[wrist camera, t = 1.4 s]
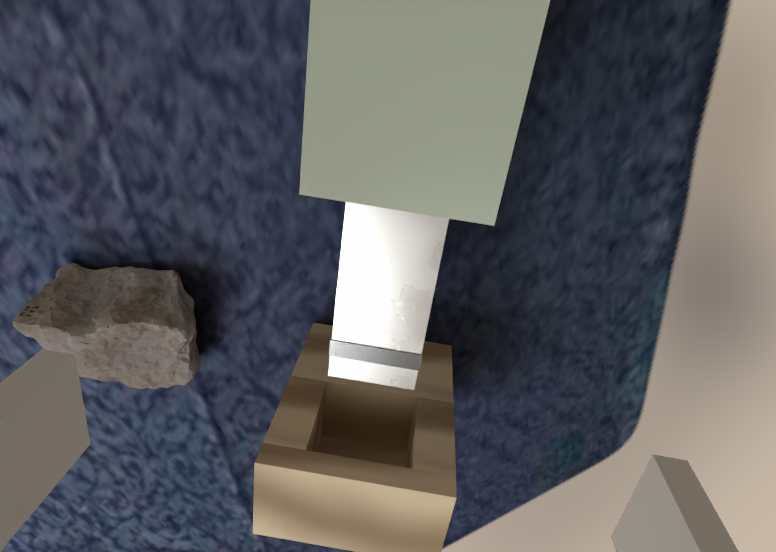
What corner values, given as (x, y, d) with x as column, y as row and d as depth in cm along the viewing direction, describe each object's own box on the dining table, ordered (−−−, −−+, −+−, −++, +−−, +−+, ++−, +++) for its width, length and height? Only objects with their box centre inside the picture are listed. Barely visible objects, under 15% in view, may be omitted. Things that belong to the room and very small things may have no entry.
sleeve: (375, -99, 23) (321, -193, 13) (522, -77, 22) (588, -154, 12) (351, 129, 27) (299, 194, 17) (474, 149, 27) (494, 225, 17)
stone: (211, 373, 36) (170, 434, 31) (74, 338, 36) (10, 393, 31) (219, 274, 32) (174, 324, 27) (66, 235, 32) (-8, 277, 27)
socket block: (313, 322, 33) (254, 462, 23) (451, 345, 33) (456, 497, 22) (308, 381, 35) (253, 533, 25) (438, 403, 35) (436, 565, 25)
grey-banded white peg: (391, -112, 17) (379, -144, 14) (505, -95, 17) (521, -123, 14) (342, 327, 26) (326, 376, 22) (418, 340, 26) (415, 391, 22)
